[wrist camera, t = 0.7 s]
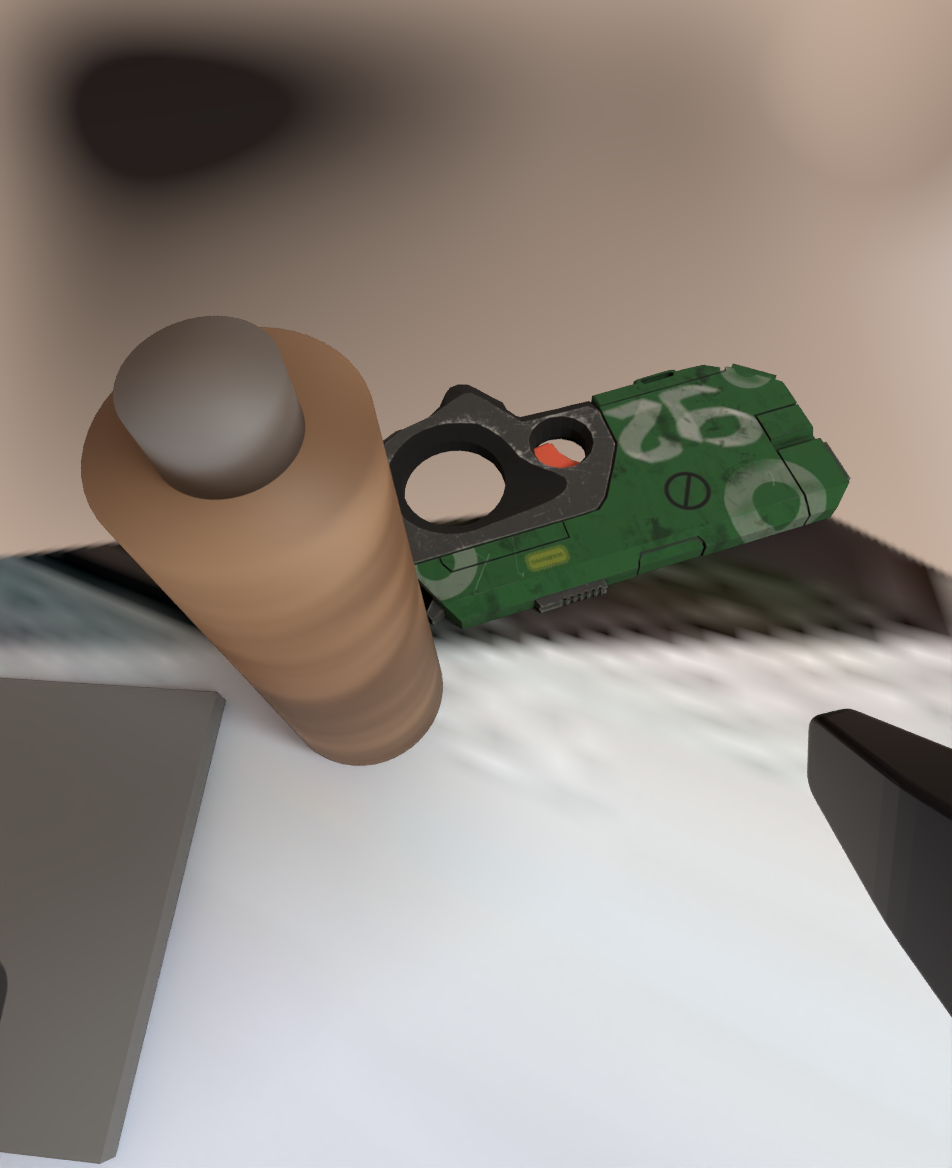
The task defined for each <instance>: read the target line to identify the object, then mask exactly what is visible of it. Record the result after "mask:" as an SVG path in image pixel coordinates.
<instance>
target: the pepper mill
mask: <svg viewBox="0 0 952 1168" xmlns="http://www.w3.org/2000/svg"><path fill="white" fill-rule="evenodd" d="M81 477H82V483H83V488H84V493H85V495H86V498H87V501H88V503H89V506H90V508H91V509H92V511H93V512H94V514H95V516H96V518H97V519H98V521H99V522H100V523H101V524H102V525H103V526H104V527H105V529H106V530H107V531H108V532H109V533H110V534H111V535H112V536H113V537H114V539H115V540H116V541H117V542H118V543H119V544H120V545H121V546H122V547H123V548H124V549H125V550H126V551H127V552H128V554H129V555H130V556H131V557H132V558H133V559H134V560H135V561H136V562H137V563H138V564H139V565H140V566H141V567H142V568H143V570H144V571H145V572H146V573H147V574H148V575H149V576H150V577H151V578H152V579H153V580H154V581H155V582H156V583H157V584H158V586H159V587H160V588H161V589H162V590H163V591H164V592H165V593H166V594H167V595H168V596H169V597H170V598H171V599H172V600H173V602H174V603H175V604H176V605H177V606H178V607H179V608H180V609H181V610H182V611H183V612H184V613H185V614H186V615H187V616H188V618H189V619H190V620H191V621H192V622H193V623H194V624H195V625H196V626H197V627H198V628H199V629H200V630H201V631H202V632H203V634H204V635H205V636H206V637H207V638H208V639H209V640H210V641H211V642H212V643H213V644H214V645H215V646H216V647H217V648H218V650H219V651H220V652H221V653H222V654H223V655H224V656H225V657H226V658H227V659H228V660H229V661H230V662H231V663H232V664H233V666H234V667H235V668H236V669H237V670H238V671H239V672H240V673H241V674H242V675H243V676H244V677H245V678H246V679H247V680H248V682H249V683H250V684H251V685H252V686H253V687H254V688H255V689H256V690H257V691H258V692H259V693H260V694H261V695H262V696H263V698H264V699H265V700H266V701H267V702H268V703H269V704H270V705H271V706H272V707H273V708H274V709H275V710H276V711H277V712H278V714H279V715H280V716H281V717H282V718H283V719H284V720H285V721H286V722H287V723H288V724H289V725H290V726H291V727H292V728H293V730H294V731H295V732H296V733H297V734H298V735H299V736H300V737H301V738H302V739H303V740H304V741H305V742H306V743H307V744H308V746H310V747H311V748H312V749H313V750H314V751H316V752H317V753H319V754H320V755H322V756H323V757H325V758H327V759H330V760H332V761H334V762H338V763H341V764H347V765H354V766H365V765H373V764H378V763H381V762H385V761H388V760H390V759H393V758H395V757H397V756H399V755H401V754H402V753H404V752H406V751H407V750H408V749H410V748H411V747H413V746H414V745H415V744H416V743H417V742H418V741H419V740H420V739H421V738H422V737H423V736H424V735H425V733H426V732H427V731H428V729H429V728H430V726H431V725H432V723H433V721H434V719H435V717H436V715H437V713H438V710H439V707H440V704H441V698H442V691H443V681H442V673H441V669H440V664H439V660H438V657H437V653H436V649H435V645H434V641H433V637H432V633H431V629H430V625H429V621H428V617H427V613H426V609H425V605H424V601H423V597H422V593H421V590H420V586H419V582H418V578H417V574H416V570H415V566H414V562H413V558H412V554H411V550H410V546H409V542H408V538H407V534H406V530H405V526H404V522H403V519H402V515H401V511H400V507H399V503H398V499H397V495H396V491H395V487H394V483H393V479H392V475H391V471H390V467H389V463H388V459H387V455H386V452H385V448H384V444H383V440H382V436H381V432H380V428H379V424H378V420H377V417H376V412H375V408H374V404H373V400H372V397H371V394H370V392H369V389H368V387H367V385H366V383H365V381H364V379H363V378H362V376H361V375H360V373H359V371H358V370H357V369H356V368H355V367H354V366H353V365H352V363H351V362H350V361H349V360H348V359H347V358H346V357H344V356H343V355H342V354H341V353H339V352H338V351H337V350H335V349H334V348H332V347H331V346H329V345H327V344H326V343H324V342H322V341H319V340H317V339H315V338H313V337H310V336H308V335H304V334H301V333H298V332H295V331H290V330H284V329H279V328H267V327H258V326H256V325H254V324H252V323H250V322H248V321H245V320H241V319H238V318H233V317H226V316H205V317H197V318H193V319H187V320H184V321H181V322H178V323H175V324H172V325H170V326H167V327H165V328H164V329H162V330H160V331H158V332H156V333H154V334H153V335H151V336H150V337H148V338H147V339H146V340H144V341H143V342H142V343H140V344H139V345H138V346H137V347H136V348H135V349H134V350H133V351H132V352H131V353H130V355H129V356H128V357H127V358H126V360H125V361H124V363H123V364H122V366H121V367H120V370H119V372H118V374H117V376H116V380H115V383H114V389H113V391H112V393H111V394H110V395H109V396H108V398H107V399H106V400H105V401H104V403H103V404H102V406H101V408H100V409H99V411H98V412H97V414H96V415H95V417H94V420H93V422H92V424H91V426H90V428H89V430H88V434H87V437H86V440H85V443H84V447H83V453H82V460H81Z"/></svg>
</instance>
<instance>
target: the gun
mask: <svg viewBox="0 0 952 1168" xmlns="http://www.w3.org/2000/svg"><path fill="white" fill-rule="evenodd" d="M775 378H776V375H773V374H769V373H766V372H762V371H758V370H755V369H751V368H747V367H743V366H740V365H736V364H733V365H732V367H727V369H726V367H725V369H724V370H723V371H720V367H713V366H706V365H701V366H696V367H692V368H688V369H683V370H680V371H675V370H668V371H664V372H661V373H658V374H654V375H651V376H647V377H644V378H641V379H638V380H636V381H634V383H633V385H629V386H626V387H622V388H619V389H615V390H611V391H608V392H604V393H601V394H597V395H594V396H592V401H591V402H589V401H588V402H583V403H579V404H574V405H570V406H566V407H563V408H559V409H555V410H550V411H545V412H541V413H536V414H532V415H528V416H524V417H518V416H515V415H514V414H512V413H511V412H510V411H508V410H506V408H505V406H504V404H503V403H502V402H500V401H498V400H496V399H494V398H492V397H490V396H489V395H487V394H485V393H483V392H481V391H480V390H478V389H476V388H473V387H471V386H469V385H456V386H453V387H451V388H450V389H449V390H448V391H447V392H446V394H445V396H444V398H443V400H442V403H441V405H440V407H439V408H438V409H437V410H436V411H435V412H434V413H433V414H432V415H431V416H430V417H429V418H427V419H425V420H422V421H420V422H418V423H416V424H413V425H411V426H409V427H407V428H405V429H403V430H399V431H396V432H395V433H393V434H391V435H390V436H389V437H388V438H386V439H385V440H383V444H384V448H385V452H386V455H387V459H388V463H389V467H390V471H391V475H392V479H393V483H394V487H395V491H396V495H397V499H398V503H399V507H400V511H401V515H402V519H403V522H404V526H405V530H406V534H407V538H408V542H409V546H410V550H411V554H412V558H413V562H414V566H415V570H416V574H417V578H418V582H419V586H420V590H421V592H423V591H425V590H426V591H427V592H428V593H429V594H430V595H431V596H432V597H433V600H432V602H431V604H430V606H429V609H428V611H427V617H428V619H429V620H430V622H431V623H432V624H433V625H434V624H436V623H437V622H439V621H440V620H441V619H443V618H444V617H446V618H448V619H449V620H451V621H452V622H453V623H455V624H456V625H458V626H459V627H460V628H462V629H465V628H468V627H471V626H475V625H478V624H481V623H485V622H488V621H491V620H494V619H498V618H501V617H504V616H508V615H511V614H514V613H517V612H521V611H524V610H527V609H531V608H534V606H535V607H536V608H537V609H538V610H539V611H540V612H541V613H543V612H546V611H549V610H553V609H556V608H559V607H562V605H569V603H570V602H572V603H575V602H576V601H577V600H579V601H582V600H583V598H587V599H588V598H590V596H594V597H595V596H597V594H601V595H602V594H605V593H606V588H607V585H609V584H613V583H616V582H619V581H623V580H626V579H629V578H632V577H636V575H637V574H638V575H639V574H642V573H645V572H648V571H652V570H655V569H658V568H662V567H665V566H668V565H671V564H675V563H678V562H681V561H685V560H688V559H691V558H694V557H698V556H700V555H701V554H702V556H705V555H708V554H711V553H714V552H718V551H721V550H724V549H728V548H731V547H734V546H737V545H741V544H744V543H747V542H751V541H754V540H757V539H760V538H764V537H767V536H770V535H774V534H777V533H780V532H783V531H787V530H790V529H793V528H797V527H800V526H803V524H804V525H806V524H810V523H813V522H816V521H820V520H823V519H826V518H829V517H831V516H832V514H833V513H834V511H835V510H836V508H837V507H838V505H839V503H840V501H841V498H842V496H843V494H844V492H845V490H846V488H847V486H848V484H849V480H850V477H849V475H848V474H847V472H846V471H845V469H844V468H843V466H842V465H841V463H840V462H839V460H838V459H837V458H836V456H835V454H834V453H833V451H832V450H831V448H830V447H829V445H828V444H827V442H823V441H822V440H821V438H818V439H815V438H814V436H813V426H812V425H811V423H810V422H809V420H808V419H807V417H806V416H805V414H804V413H803V412H802V410H801V408H800V407H799V405H798V404H797V405H796V403H797V402H796V401H795V399H794V398H793V396H792V395H791V393H790V392H789V390H788V389H787V387H786V386H785V385H784V383H783V382H782V381H779V380H775ZM557 439H563V440H568V441H572V442H574V443H576V444H577V445H579V446H581V447H582V449H583V450H584V452H585V458H584V459H583V460H582V461H581V462H576V461H573V460H571V459H569V458H567V457H566V456H564V455H562V454H560V453H559V452H558V451H557V449H556V448H555V447H554V445H553V444H549V443H546V444H544V445H541V446H539V445H540V444H542V443H544V442H546V441H549V440H557ZM538 446H539V447H538ZM449 451H466V452H471V453H475V454H478V455H480V456H482V457H484V458H485V459H487V460H489V461H490V462H492V463H493V464H494V465H495V466H496V468H497V469H498V470H499V471H500V473H501V474H502V477H503V480H504V482H505V490H504V494H503V496H502V498H501V500H500V502H499V503H498V505H497V506H496V507H495V509H494V510H492V511H491V512H490V513H489V514H488V515H487V516H485V517H483V518H482V519H480V520H478V521H476V522H473V523H471V524H467V525H462V526H441V525H436V524H433V523H430V522H428V521H426V520H424V519H422V518H420V517H419V516H418V515H417V514H416V513H414V512H413V511H412V509H411V508H410V507H409V506H408V504H407V502H406V500H405V488H406V484H407V481H408V479H409V477H410V475H411V474H412V472H413V471H414V470H415V469H416V467H417V466H419V465H420V464H421V463H422V462H423V461H425V460H427V459H428V458H430V457H432V456H434V455H437V454H440V453H444V452H449Z"/></svg>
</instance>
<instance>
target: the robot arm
mask: <svg viewBox="0 0 952 1168" xmlns="http://www.w3.org/2000/svg"><path fill="white" fill-rule="evenodd" d="M807 777H808V783H809V786H810V789H811V792H812V794H813V796H814V798H815V800H816V802H817V804H818V805H819V807H820V809H821V811H822V813H823V814H824V816H825V818H826V820H827V821H828V823H829V825H830V827H831V828H832V830H833V832H834V834H835V836H836V837H837V839H838V841H839V843H840V844H841V846H842V848H843V850H844V851H845V853H846V855H847V857H848V859H849V860H850V862H851V864H852V866H853V867H854V869H855V871H856V873H857V874H858V876H859V878H860V880H861V882H862V883H863V885H864V887H865V889H866V890H867V892H868V894H869V896H870V897H871V899H872V901H873V903H874V904H875V906H876V908H877V909H878V911H879V913H880V914H881V916H882V918H883V919H884V921H885V923H886V924H887V926H888V927H889V929H890V930H891V932H892V933H893V935H894V936H895V938H896V939H897V941H898V942H899V943H900V945H901V946H902V948H903V949H904V951H905V952H906V953H907V955H908V956H909V958H910V959H911V961H912V962H913V963H914V965H915V966H916V968H917V969H918V970H919V972H920V973H921V975H922V976H923V977H924V979H925V980H926V982H927V983H928V985H929V986H930V987H931V989H932V990H933V992H934V993H935V994H936V996H937V997H938V999H939V1000H940V1002H941V1003H942V1004H943V1006H944V1007H945V1009H946V1010H947V1011H948V1013H949V1014H950V1016H951V1017H952V749H951V748H949V747H946V746H944V745H941V744H939V743H936V742H934V741H931V740H929V739H926V738H924V737H921V736H919V735H916V734H914V733H911V732H909V731H906V730H904V729H901V728H899V727H896V726H894V725H891V724H888V723H886V722H883V721H881V720H878V719H876V718H873V717H871V716H868V715H866V714H863V713H861V712H858V711H856V710H852V709H841V710H837V711H832V712H828V713H824V714H820V715H817V716H815V717H814V718H812V720H811V722H810V724H809V732H808V763H807ZM7 993H8V977H7V972H6V969H5V967H4V965H3V963H2V962H1V960H0V1025H1V1021H2V1016H3V1012H4V1007H5V1003H6V998H7Z"/></svg>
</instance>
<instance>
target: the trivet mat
mask: <svg viewBox="0 0 952 1168" xmlns="http://www.w3.org/2000/svg"><path fill="white" fill-rule="evenodd" d="M225 701H226V700H225V699H224V698H223V697H222V696H221V695H220V694H219V693H218V692H210V691H195V690H179V689H164V688H149V687H133V686H118V685H103V684H87V683H72V682H57V681H41V680H26V679H10V678H0V960H1V962H2V963H3V965H4V967H5V969H6V972H7V977H8V993H7V998H6V1003H5V1007H4V1012H3V1016H2V1021H1V1025H0V1152H4V1153H12V1154H21V1155H29V1156H38V1157H46V1158H55V1159H63V1160H72V1161H80V1162H89V1163H97V1164H101V1163H103V1162H105V1161H107V1160H109V1159H111V1158H113V1157H115V1156H116V1152H117V1148H118V1144H119V1140H120V1136H121V1132H122V1127H123V1123H124V1119H125V1115H126V1111H127V1107H128V1103H129V1098H130V1094H131V1090H132V1086H133V1082H134V1078H135V1074H136V1069H137V1065H138V1061H139V1057H140V1053H141V1049H142V1045H143V1040H144V1036H145V1032H146V1028H147V1024H148V1020H149V1016H150V1011H151V1007H152V1003H153V999H154V995H155V991H156V987H157V982H158V978H159V974H160V970H161V966H162V962H163V958H164V953H165V949H166V945H167V941H168V937H169V933H170V929H171V924H172V920H173V916H174V912H175V908H176V904H177V900H178V895H179V891H180V887H181V883H182V879H183V875H184V871H185V866H186V862H187V858H188V854H189V850H190V846H191V842H192V837H193V833H194V829H195V825H196V821H197V817H198V813H199V808H200V804H201V800H202V796H203V792H204V788H205V784H206V779H207V775H208V771H209V767H210V763H211V759H212V755H213V750H214V746H215V742H216V738H217V734H218V730H219V726H220V721H221V717H222V713H223V709H224V705H225Z"/></svg>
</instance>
